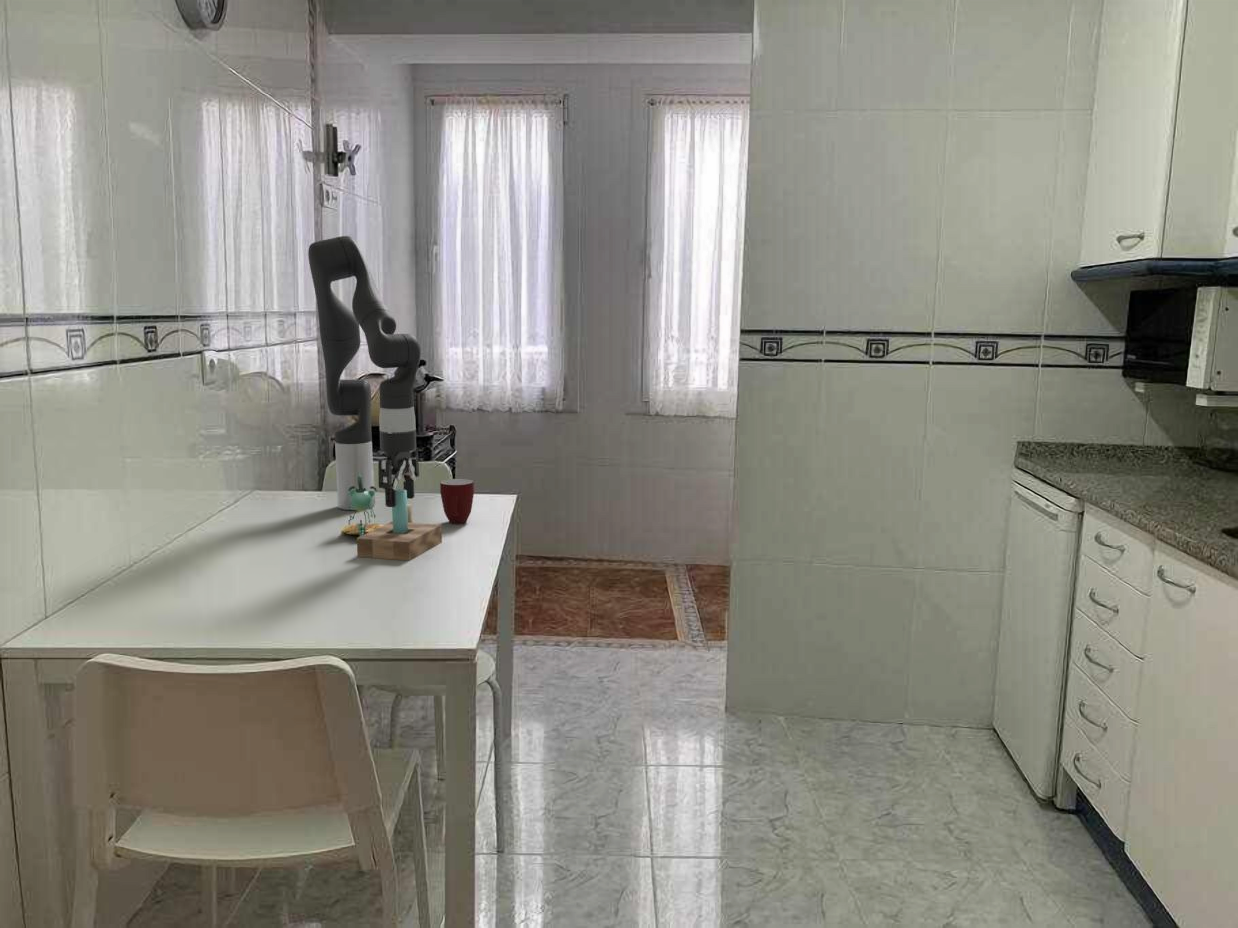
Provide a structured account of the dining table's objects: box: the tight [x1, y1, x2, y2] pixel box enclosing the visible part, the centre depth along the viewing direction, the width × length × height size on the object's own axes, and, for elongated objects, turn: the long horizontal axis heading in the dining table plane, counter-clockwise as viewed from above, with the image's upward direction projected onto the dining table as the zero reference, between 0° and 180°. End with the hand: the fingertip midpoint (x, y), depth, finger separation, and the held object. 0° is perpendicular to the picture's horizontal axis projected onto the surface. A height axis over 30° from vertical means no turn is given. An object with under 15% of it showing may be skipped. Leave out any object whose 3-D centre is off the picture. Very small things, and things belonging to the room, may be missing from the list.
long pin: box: [391, 488, 408, 535], centre depth 210 cm, size 3×3×13 cm
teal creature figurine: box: [341, 475, 383, 540], centre depth 224 cm, size 10×18×15 cm, turn 178°
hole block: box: [356, 520, 443, 562], centre depth 211 cm, size 16×12×4 cm
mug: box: [439, 478, 475, 525], centre depth 234 cm, size 11×8×10 cm
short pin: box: [407, 503, 413, 523], centre depth 223 cm, size 3×3×7 cm
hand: (400, 502), depth 209 cm, fingers open, 8 cm apart
